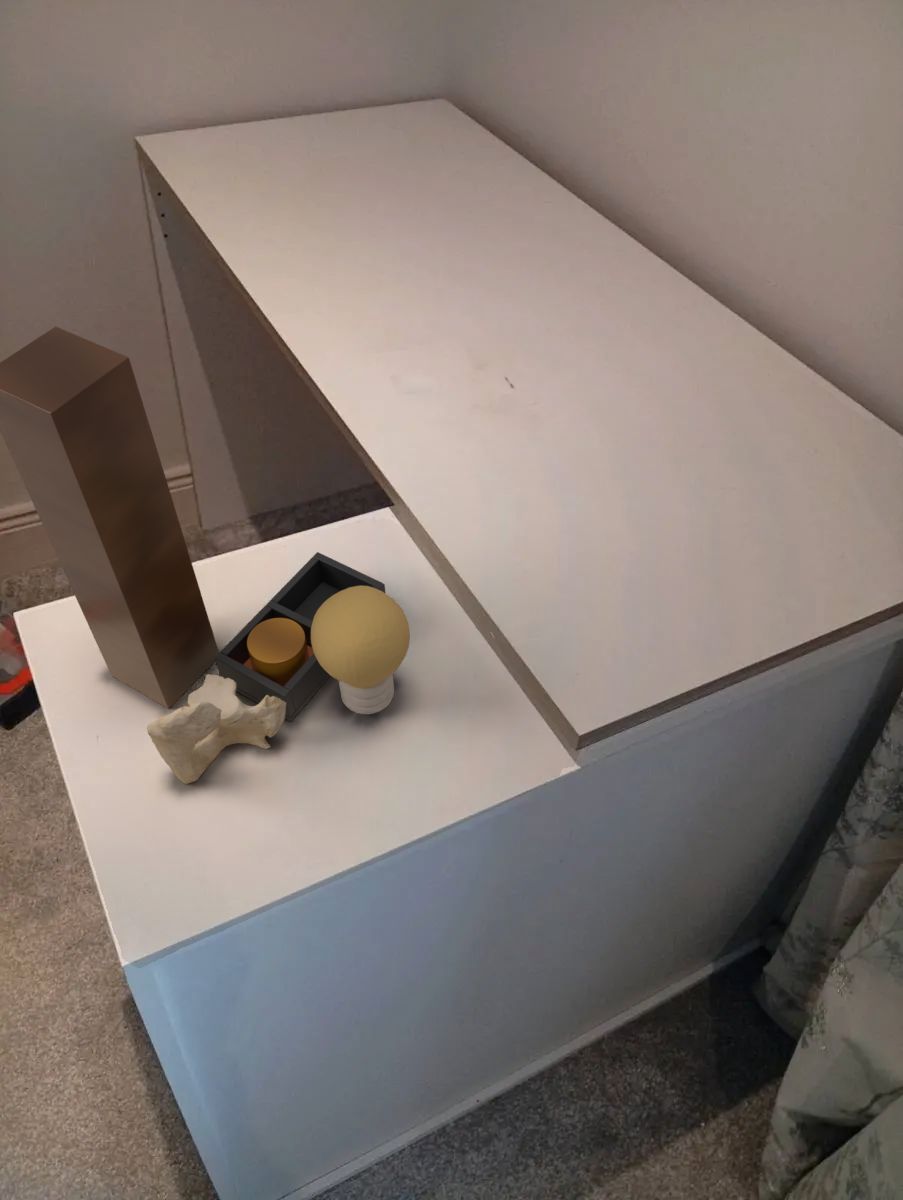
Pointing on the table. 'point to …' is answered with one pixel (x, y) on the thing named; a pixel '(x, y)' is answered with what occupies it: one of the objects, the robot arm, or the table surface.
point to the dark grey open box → (299, 606)
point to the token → (277, 649)
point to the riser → (107, 509)
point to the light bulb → (361, 645)
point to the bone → (213, 726)
